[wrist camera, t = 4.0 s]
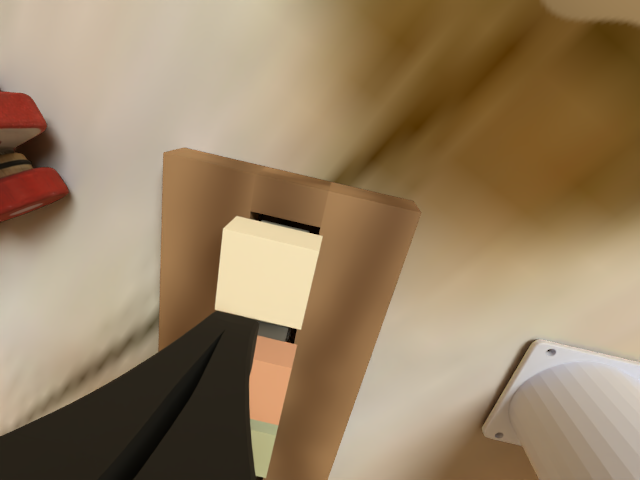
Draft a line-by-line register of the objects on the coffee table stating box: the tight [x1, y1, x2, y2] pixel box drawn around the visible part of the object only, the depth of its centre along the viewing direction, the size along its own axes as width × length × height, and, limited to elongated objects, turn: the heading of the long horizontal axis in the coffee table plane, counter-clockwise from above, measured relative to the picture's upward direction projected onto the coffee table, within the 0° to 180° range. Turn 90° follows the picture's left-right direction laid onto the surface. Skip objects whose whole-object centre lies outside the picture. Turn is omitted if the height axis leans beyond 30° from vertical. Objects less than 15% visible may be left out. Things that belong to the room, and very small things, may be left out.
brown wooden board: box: [158, 148, 421, 480], centre depth 21 cm, size 12×25×2 cm, turn 168°
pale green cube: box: [250, 419, 278, 478], centre depth 20 cm, size 4×4×4 cm
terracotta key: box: [249, 321, 297, 425], centre depth 17 cm, size 4×4×4 cm
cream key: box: [215, 216, 323, 330], centre depth 15 cm, size 4×4×4 cm
